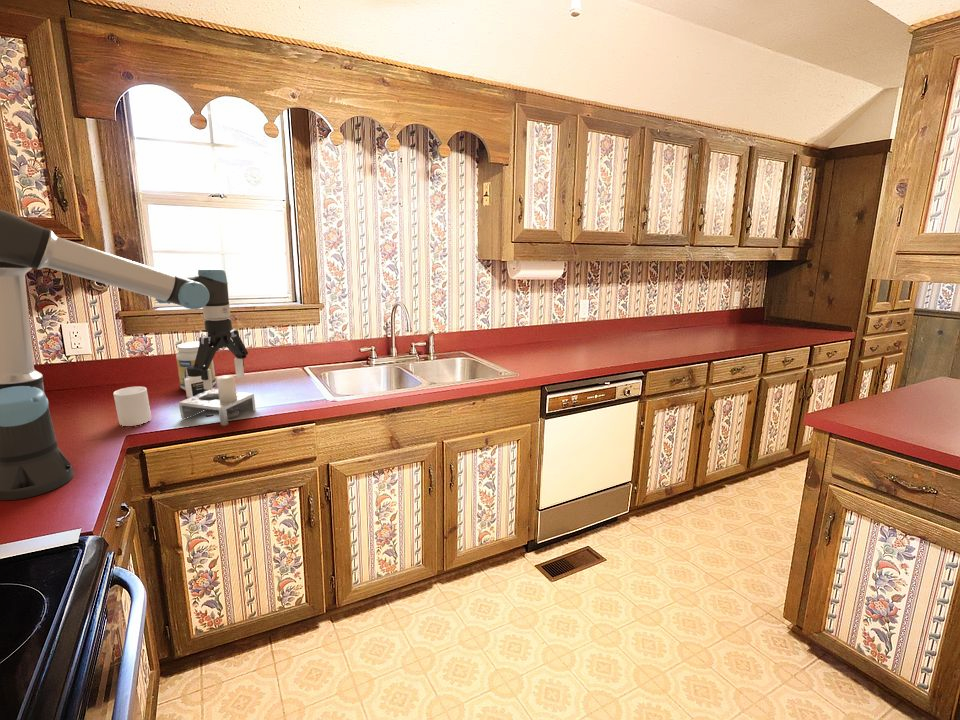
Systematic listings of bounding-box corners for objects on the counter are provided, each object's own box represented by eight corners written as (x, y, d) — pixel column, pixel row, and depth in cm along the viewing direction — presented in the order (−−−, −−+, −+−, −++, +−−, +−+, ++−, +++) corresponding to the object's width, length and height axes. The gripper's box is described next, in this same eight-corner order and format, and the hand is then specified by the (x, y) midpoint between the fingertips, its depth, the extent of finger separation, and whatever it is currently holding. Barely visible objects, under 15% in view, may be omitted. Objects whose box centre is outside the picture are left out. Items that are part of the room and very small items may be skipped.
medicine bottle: (193, 401, 177) (188, 369, 173) (186, 397, 181) (181, 365, 178) (214, 397, 182) (210, 365, 178) (207, 392, 186) (203, 361, 183)
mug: (152, 412, 167) (146, 381, 164) (152, 424, 157) (146, 392, 154) (120, 417, 162) (114, 386, 160) (118, 429, 153) (112, 397, 150)
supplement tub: (180, 393, 185) (173, 349, 180) (181, 384, 195) (174, 342, 190) (217, 388, 190) (211, 346, 186) (215, 380, 201) (210, 339, 196)
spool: (231, 419, 161) (226, 380, 157) (218, 417, 162) (212, 378, 159) (242, 413, 166) (237, 375, 162) (229, 411, 167) (224, 374, 163)
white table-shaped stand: (224, 425, 156) (222, 407, 155) (181, 419, 161) (178, 402, 159) (255, 410, 169) (253, 393, 168) (214, 404, 174) (212, 388, 172)
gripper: (194, 326, 143) (203, 396, 148) (255, 313, 166) (261, 373, 171) (174, 324, 145) (183, 393, 150) (236, 311, 168) (243, 371, 173)
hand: (225, 383), depth 161 cm, fingers open, 13 cm apart
